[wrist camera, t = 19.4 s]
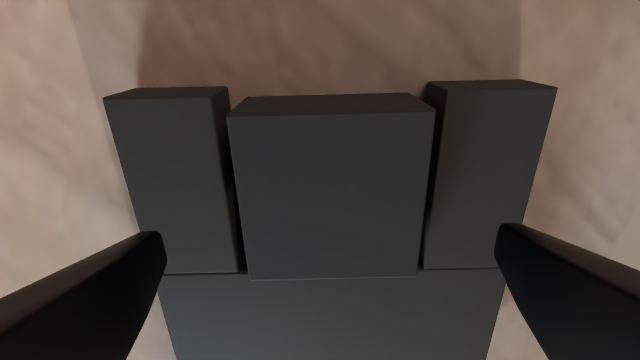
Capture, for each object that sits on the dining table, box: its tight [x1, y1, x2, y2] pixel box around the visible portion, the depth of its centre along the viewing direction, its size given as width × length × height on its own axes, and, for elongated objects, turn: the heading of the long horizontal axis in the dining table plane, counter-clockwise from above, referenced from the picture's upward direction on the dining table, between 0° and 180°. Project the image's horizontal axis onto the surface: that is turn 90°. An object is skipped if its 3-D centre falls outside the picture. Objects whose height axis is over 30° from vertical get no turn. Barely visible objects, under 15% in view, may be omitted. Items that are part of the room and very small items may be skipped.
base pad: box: [103, 79, 558, 360], centre depth 14 cm, size 14×14×2 cm
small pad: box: [226, 93, 436, 281], centre depth 12 cm, size 6×6×3 cm
